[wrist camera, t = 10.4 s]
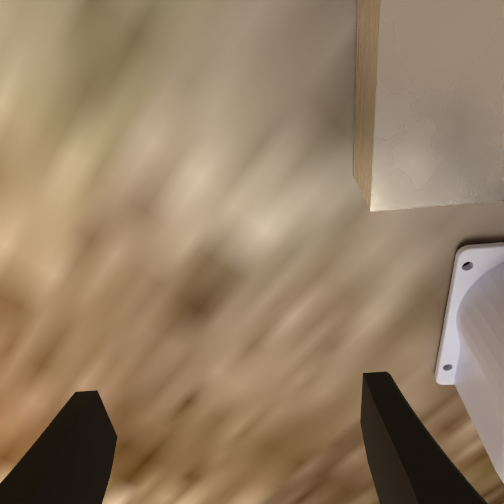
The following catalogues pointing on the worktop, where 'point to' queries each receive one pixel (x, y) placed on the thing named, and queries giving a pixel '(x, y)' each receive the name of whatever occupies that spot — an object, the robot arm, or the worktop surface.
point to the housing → (429, 102)
